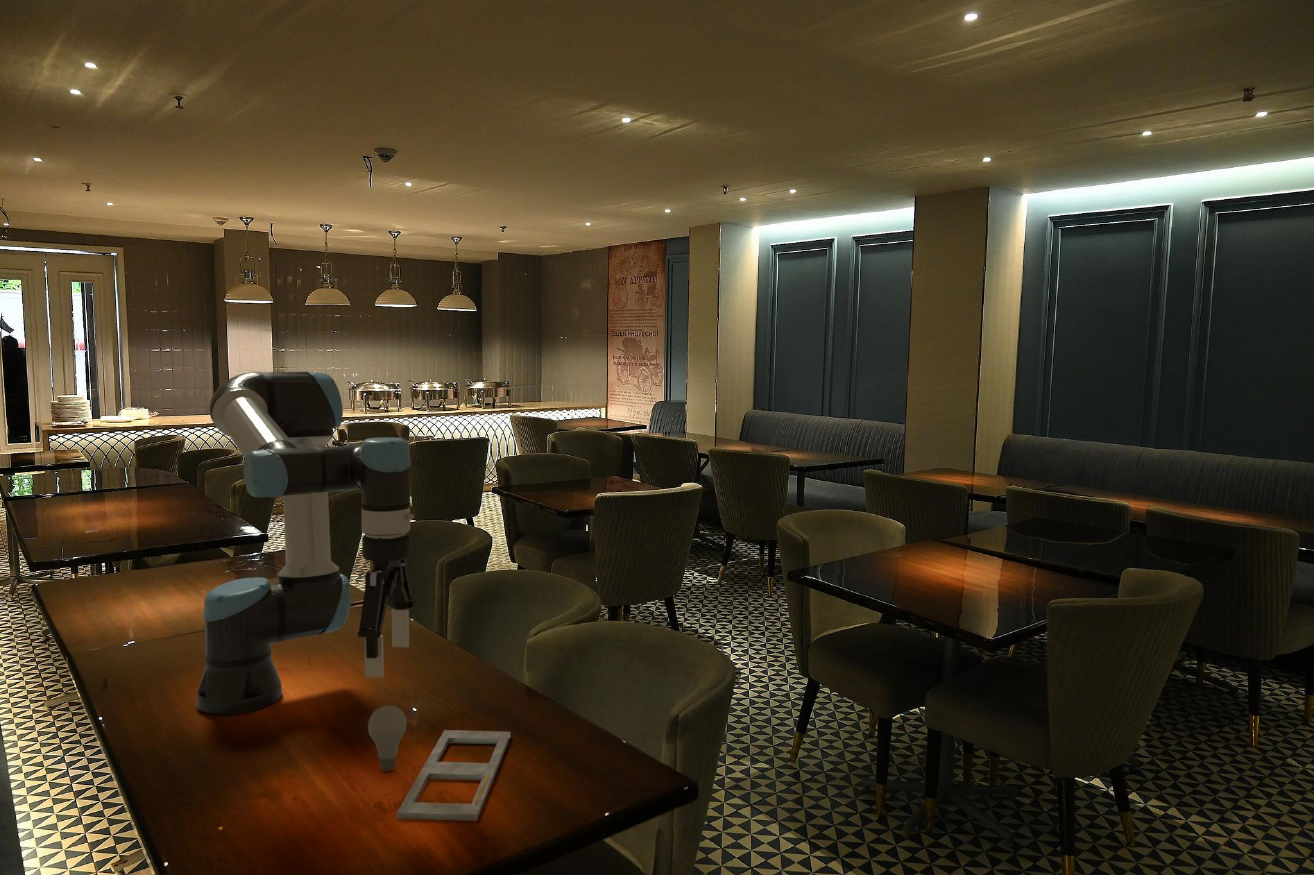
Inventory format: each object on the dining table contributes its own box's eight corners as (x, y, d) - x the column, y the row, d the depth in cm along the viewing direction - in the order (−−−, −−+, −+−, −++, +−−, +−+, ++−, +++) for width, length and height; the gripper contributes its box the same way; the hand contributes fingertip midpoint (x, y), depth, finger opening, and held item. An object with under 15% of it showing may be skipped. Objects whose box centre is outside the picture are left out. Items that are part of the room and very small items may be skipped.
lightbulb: (373, 762, 146) (372, 699, 144) (410, 761, 146) (409, 699, 145) (364, 780, 140) (363, 715, 138) (402, 779, 140) (402, 714, 139)
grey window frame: (396, 818, 128) (396, 812, 128) (444, 735, 156) (444, 729, 156) (476, 820, 128) (476, 814, 128) (510, 736, 156) (510, 731, 156)
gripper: (385, 551, 127) (386, 690, 129) (430, 519, 151) (430, 636, 154) (334, 550, 127) (336, 689, 129) (387, 518, 151) (389, 635, 154)
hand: (388, 660), depth 141 cm, fingers open, 13 cm apart
